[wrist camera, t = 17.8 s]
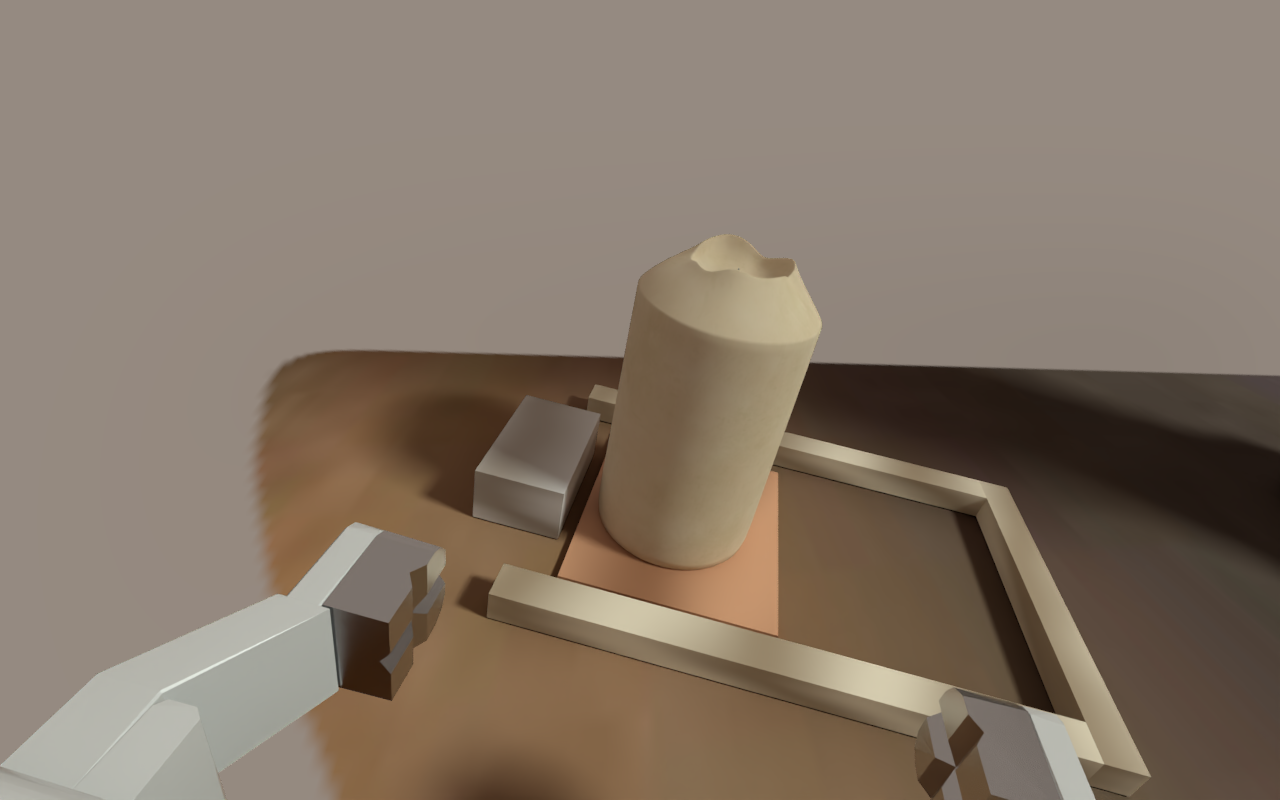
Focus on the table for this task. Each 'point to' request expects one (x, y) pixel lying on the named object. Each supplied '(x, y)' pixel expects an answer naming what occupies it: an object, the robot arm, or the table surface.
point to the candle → (704, 400)
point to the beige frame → (769, 587)
